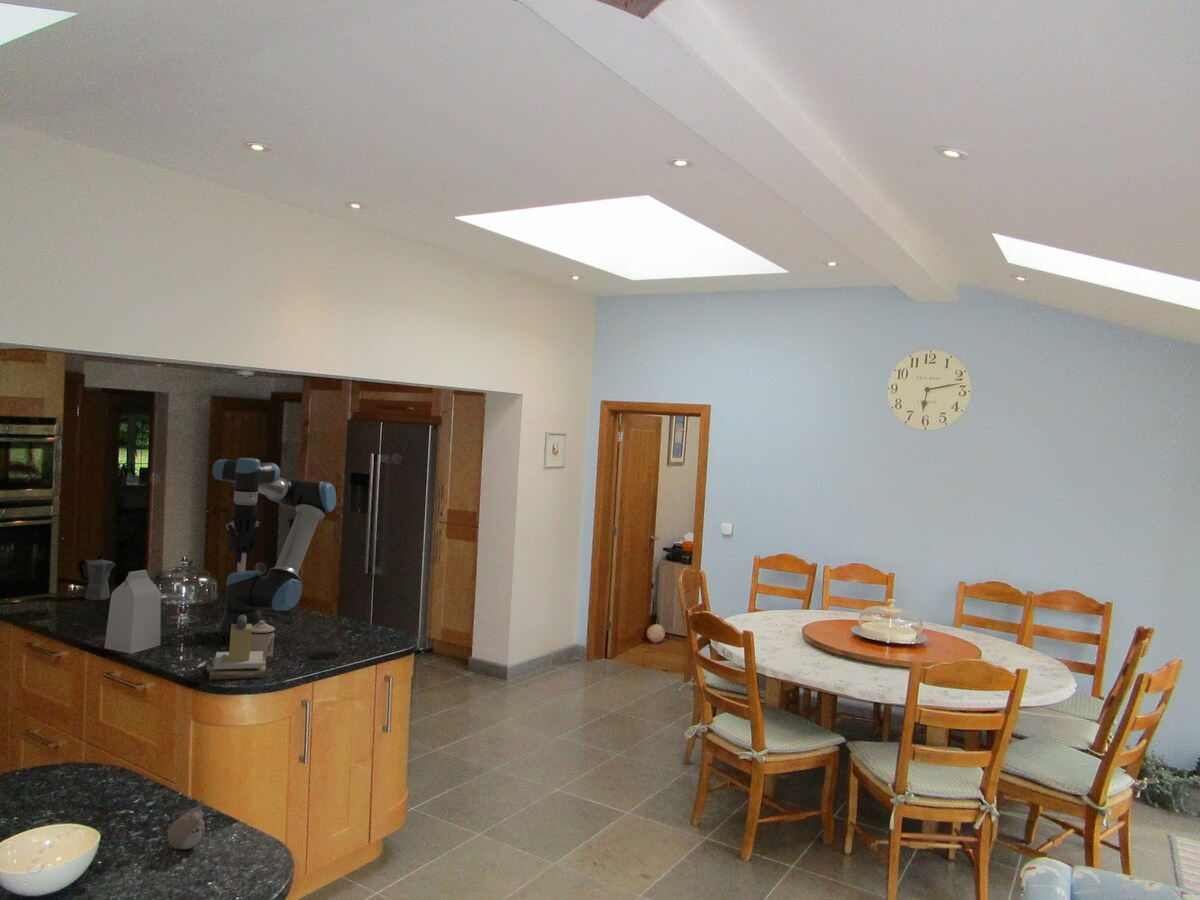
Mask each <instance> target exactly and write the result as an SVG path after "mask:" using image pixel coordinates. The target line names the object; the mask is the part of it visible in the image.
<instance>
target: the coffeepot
mask: <svg viewBox="0 0 1200 900" xmlns="http://www.w3.org/2000/svg"><path fill="white" fill-rule="evenodd" d="M97 557H98V558H97V559H95V560H92V559H81V560H80V561H79V562H78V563H77V568H78V571H79V574H80V579H81V580H87V579H89V580H88V584H87V588H86V592H85V596H84V599H85V600H88V601H104V600H108V599H110V598H111V595H110V587H109V582H108V581H109V580H108V579H109V578H110V573H111V571H112V570H113V568H114V567H115V566H117V564H116V563H115V562H113V561H111V560H106V559H102V558H103V555H102V554H99V555H97ZM83 565H86V566H87V576H85V572H84V566H83Z"/></svg>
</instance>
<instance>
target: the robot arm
mask: <svg viewBox="0 0 1200 900" xmlns="http://www.w3.org/2000/svg"><path fill="white" fill-rule="evenodd" d="M212 465H213V466H212V472H211V473H212V476H213V478H214V479H215V480H218V481H224V482H230V483H232V484H234V494H233V502H234V504H233V510H232V514H233V516H232V518H231V521H230V522H229V523H226V524H225V525H224V528H225V530H226V532H227V537H228V542H229V543H228V544H229V548H230V551H231V552H233V553H235V562H236V563H237V565H236V566H237V567H236V571H235V572H232V573H230V574H229V575H228V576H227V579H226V584H225V603H224V614H223V615H222V618H221V620H220V623H219V625H218V628H217V629H218V630H217V635H218V636H221V637H224V638H230V634H231V626H232V624H237V620H238V617H239V616H240V615H245V616H246V617H247V623H246V624H252V626H254V625H256V624H259V621H261V617H260V614H259V608H260V609H265V610H266V609H268V610H274V611H289V610H291V609H293V608H294V607H295V606H296V605H297V604H298V602H299V601H300V599H301V596H302V590H303V585H302V582H301V578H300V576H299V572H300V570H301V567H302V564H303V561H304V559H305V558H306V554H307V552H308V549H309V546H310V544H311V542H312V538H313V536H314V534H315V531H316V528H317V526H318V523H319V521H321V520H324V519H325V516H326V514H327V513H331V512H333V511H334V510H335V508H336V505H337V492H336V489H335V487H334V485H333V484H332V483H330V482H326V481H325V482H324V481H322V480H321V481H316V480H308V479H307V480H306V479H296V478H295V479H294V478H293V479H292V478H283V477H281V468H280V467H279V466H278V465H277V464H276V463H274V462H268V461H267V462H261V460H260V459H258V458H253V457H240V458H237V460H234V459H228V458H226V459H218V460H216V461H215V462H214V464H212ZM259 494H262V495H264V496H265V497H266V498H267V499H268V500H270V501H272V502H274V503H277V504H279V505H282V506H285V507H288V508H291V509H295V512H296V515H295V517H294V520H293V522H292V525H291V528H290V530H289V532H288V535H287V537H286V540H285V542H284V544H283V547H282V549H281V552H280V554H279V557H278V559H277V562H276V564H275V566H274V567H271V568H270V569H269V570H268V573H267V574H266V576H265V575H263V573H262V571H261V570H256V569H255V570H246V567H247V565H246V563H247V562H249V554H250V553H251V552H252V551H254V550H255V548H256V545H257V542H258V538H259V535H260V531H261V530H262V527H263V525H264V523H263V522H261V521H258V518H257V514H258V504H257V503H258V500H259V498H258V497H259Z"/></svg>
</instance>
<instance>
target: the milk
mask: <svg viewBox="0 0 1200 900" xmlns="http://www.w3.org/2000/svg"><path fill="white" fill-rule="evenodd" d="M127 574H128V575H127V576H126V578H125V580H124V581H123V582H122V583H121V584H120V585H119V586H117V587H116V588H115V589H114V590H113V591H112V592H111V595H110V602H109V609H108V617H107V624H106V625H107V626H106V633H105V641H104V649H108V650H111V651H116V652H121V653H125V654H135V653H139V652H143V651H146V650H149V648H150V649H153V647H154V648H157V647H156V646H158V647H160V646H161V621H162V620H161V618H162V617H161V608H162V607H161V602H162V601H161V599H162V598H161V591H160V589H159V588H158V586H157V585H156V584H154V581H152V579H151V578H150V577H149V573H148V570H147V569H140V570H134V571H129V572H128V573H127ZM159 645H160V646H159Z"/></svg>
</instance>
